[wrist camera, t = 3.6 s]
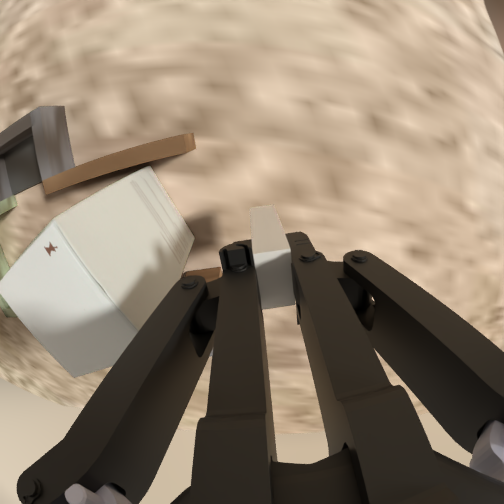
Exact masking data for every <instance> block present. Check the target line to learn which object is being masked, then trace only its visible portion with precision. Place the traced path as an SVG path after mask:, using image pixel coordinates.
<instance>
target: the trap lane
mask: <svg viewBox="0 0 504 504" xmlns="http://www.w3.org/2000/svg"><path fill="white" fill-rule="evenodd" d="M194 149H196V146H195V140H194V135H193V133H190V134H183V135H178V136H174V137H170V138H166V139H162V140H158V141H154V142H150V143H147V144H143V145H140V146H136V147H133V148H129V149H126V150H123V151H120V152H116V153H113V154H110V155H107V156H104V157H101V158H98V159H96V160H93V161H90V162H87V163H84V164H82V165H79V166H76V167H75V164H74V160H73V155H72V150H71V145H70V140H69V134H68V129H67V122H66V116H65V108H64V106H40V107H38V108H36V109H35V110H33V111H31V112H30V113H28V114H27V115H25V116H24V117H22V118H21V119H19V120H18V121H16V122H15V123H13V124H12V125H11V126H9V127H8V128H6V129H5V130H4V131H2V132H1V133H0V215H1V214H3V213H5V212H6V211H8V210H10V209H12V208H14V207H15V206H17V202H16V199H15V194H17V193H19V192H21V191H23V190H25V189H27V188H29V187H31V186H33V185H35V184H38V183H40V182H43V186H44V190H45V194H46V195H47V194H50V193H52V192H55V191H58V190H60V189H63V188H66V187H68V186H71V185H74V184H77V183H80V182H82V181H85V180H88V179H91V178H94V177H97V176H101V175H104V174H107V173H110V172H113V171H117V170H120V169H124V168H127V167H131V166H134V165H138V164H142V163H145V162H149V161H153V160H157V159H161V158H165V157H170V156H174V155H178V154H183V153H187V152H189V151H191V150H194ZM9 269H10V268H9V266H8V263H7V261H6V258H5V256H4V253H3V251H2V248H1V245H0V281H1V280H2V278H3V277H4V276H5V274H6V273H7V272H8V270H9ZM190 275H199V276H202V277H204V278H205V280H206V283H207V282H210V281H213V280H216V279H218V278H220V277H221V276H222V271H221V267H217V268H210V269H202V270H195V271H188V272H187V273H186V276H190ZM186 276H185V277H186ZM0 307H1V309H2V311H3V312H4V314H5V316H6V317H18V316H17V315H16V314H15V313H14V311H13V310H12V309H11V307H10V306H9V305H8V303H7V302H6V301H5V299H4V298H3V297H2V295H1V294H0ZM212 355H213V349H212V351H211V353H210V356H212Z"/></svg>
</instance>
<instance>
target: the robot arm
mask: <svg viewBox="0 0 504 504" xmlns="http://www.w3.org/2000/svg"><path fill="white" fill-rule="evenodd" d="M250 223H251V238H252V239H251V240H244V241H238V242H233V243H232V244H229V245H227V246H225V247H223V248H222V249H220V251H219V255H220V260H221V264H222V269H223V272H222V276H221V277H220V278H218V279H216V280H213V281H210V282H207V283H206V280H205V278H204V277H202V276H199V275H190V276H186V277H183V278H182V279H180V280H178V281H177V282H176V283H175V284H174V286H173V287H172V288H171V289H170V291H169V292H168V293H167V295H166V296H165V297H164V298H163V300H162V301H161V302H160V304H159V305H158V306H157V307H156V309H155V310H154V311H153V313H152V314H151V315H150V317H149V318H148V319H147V321H146V322H145V323H144V325H143V326H142V327H141V329H140V330H139V331H138V333H137V334H136V335H135V337H134V338H133V339H132V341H131V342H130V343H129V345H128V346H127V347H126V349H125V350H124V352H123V353H122V354H121V356H120V357H119V358H118V360H117V361H116V363H115V364H114V365H113V367H112V368H111V370H110V371H109V372H108V374H107V375H106V377H105V378H104V379H103V381H102V382H101V384H100V385H99V387H98V388H97V389H96V391H95V392H94V394H93V395H92V397H91V398H90V400H89V401H88V403H87V404H86V405H85V407H84V408H83V410H82V411H81V413H80V414H79V416H78V417H77V419H76V420H75V422H74V424H73V425H72V426H71V428H70V430H69V431H68V433H67V434H66V436H65V437H64V439H63V440H61V441H60V442H59V443H58V444H57V445H56V446H54V447H53V448H52V449H51V450H49V451H48V452H47V453H46V454H45V455H43V456H42V457H41V458H40V459H39V460H37V461H36V462H35V463H34V464H32V465H31V466H30V467H29V468H28V469H26V470H25V471H24V472H23V473H22V474H21V475H20V477H19V479H18V482H17V494H18V497H19V500H20V501H21V503H22V504H139V503H140V501H141V500H142V498H143V497H144V496H145V494H146V493H147V491H148V489H149V487H150V486H151V484H152V482H153V480H154V478H155V476H156V474H157V471H158V469H159V467H160V465H161V462H162V460H163V458H164V456H165V454H166V451H167V449H168V447H169V445H170V443H171V440H172V438H173V436H174V434H175V432H176V429H177V427H178V425H179V423H180V420H181V418H182V416H183V414H184V411H185V409H186V407H187V405H188V403H189V400H190V398H191V396H192V394H193V391H194V389H195V387H196V385H197V382H198V380H199V378H200V376H201V374H202V371H203V369H204V367H205V365H206V362H207V360H208V358H209V356H210V353H211V351H212V349H213V355H212V365H211V374H210V384H209V394H208V404H207V413H206V416H205V417H204V418H200V420H199V421H198V424H197V429H196V437H195V447H194V457H193V467H192V479H191V486H190V487H188V488H187V489H186V490H184V491H183V492H182V493H181V494H180V495H179V496H178V497H177V498H176V499H175V500H174V501H173V502H171V503H170V504H504V352H503V351H502V350H501V349H499V348H498V347H497V346H496V345H495V344H493V343H492V342H491V341H490V340H489V339H487V338H486V337H485V336H484V335H483V334H481V333H480V332H479V331H478V330H476V329H475V328H474V327H473V326H471V325H470V324H469V323H468V322H466V321H465V320H464V319H463V318H461V317H460V316H459V315H457V314H456V313H455V312H454V311H452V310H451V309H450V308H448V307H447V306H446V305H444V304H443V303H442V302H440V301H439V300H438V299H436V298H435V297H434V296H432V295H431V294H429V293H428V292H427V291H425V290H424V289H423V288H421V287H420V286H418V285H417V284H416V283H414V282H413V281H411V280H410V279H408V278H407V277H406V276H404V275H403V274H401V273H400V272H398V271H397V270H395V269H394V268H392V267H391V266H390V265H388V264H387V263H385V262H384V261H382V260H381V259H379V258H378V257H376V256H375V255H373V254H371V253H369V252H366V251H363V250H359V251H358V250H355V251H351V252H348V253H346V254H345V255H344V257H343V262H332V261H327V260H326V258H325V256H324V255H323V254H322V253H320V252H318V251H315V249H314V247H313V245H312V243H311V242H310V240H309V238H308V236H307V235H306V234H304V233H302V232H295V233H288V234H285V233H284V230H283V227H282V225H281V222H280V219H279V217H278V214H277V211H276V209H275V206H274V204H273V205H266V206H259V207H253V208H250ZM372 297H373V299H374V301H375V302H374V301H373V300H372ZM295 300H296V310H297V325H299V324H300V327H301V331H302V334H303V338H304V343H305V347H306V351H307V355H308V359H309V363H310V367H311V371H312V375H313V380H314V384H315V388H316V392H317V397H318V401H319V405H320V410H321V414H322V419H323V423H324V428H325V432H326V437H327V441H328V447H329V457H327V458H325V459H322V460H320V461H318V462H316V463H313V464H294V463H282V462H278V461H277V453H276V444H275V433H274V422H273V412H272V401H271V391H270V381H269V371H268V360H267V350H266V340H265V330H264V320H263V313H262V310H263V309H270V308H277V307H283V306H290V305H295ZM374 349H375V350H376V351H377V352H378V353H379V354H380V356H381V357H382V358H383V359H384V360H385V361H386V362H387V364H388V365H389V366H390V367H391V368H392V369H393V370H394V371H395V373H396V374H397V375H398V376H399V377H400V378H401V379H402V381H403V382H404V383H405V384H406V385H407V386H408V387H409V389H410V390H411V391H412V392H413V393H414V394H415V396H416V397H417V398H418V399H419V400H420V401H421V403H422V404H423V405H424V406H425V407H426V408H427V410H428V411H429V412H430V413H431V414H432V415H433V417H434V418H435V419H436V420H437V421H438V423H439V424H440V425H441V426H442V427H443V429H444V430H445V431H446V432H447V433H448V434H449V435H450V436H451V437H452V439H453V440H454V441H455V442H457V443H458V444H459V445H460V446H461V447H462V448H464V449H465V450H466V451H468V452H470V453H471V454H473V455H472V459H471V461H470V468H469V467H467V466H465V465H463V464H461V463H459V462H456V461H454V460H452V459H450V458H448V457H446V456H444V455H442V454H440V453H438V452H436V451H434V450H432V448H431V445H430V443H429V440H428V438H427V435H426V433H425V431H424V428H423V426H422V424H421V422H420V419H419V417H418V415H417V413H416V410H415V408H414V406H413V404H412V402H411V400H410V398H409V395H408V394H407V392H406V390H405V389H404V388H403V387H402V386H400V385H396V386H393V385H391V383H390V382H389V380H388V378H387V375H386V373H385V371H384V369H383V367H382V365H381V363H380V361H379V359H378V356H377V354H376V352H375V350H374Z"/></svg>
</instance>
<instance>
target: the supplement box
mask: <svg viewBox="0 0 504 504" xmlns="http://www.w3.org/2000/svg"><path fill="white" fill-rule="evenodd" d="M194 239H195V237H194V236H193V234H192V232H191V231H190V229H189V228H188V226H187V224H186V223H185V221H184V220H183V218H182V216H181V215H180V213H179V212H178V210H177V209H176V207H175V205H174V204H173V202H172V201H171V199H170V197H169V196H168V194H167V193H166V191H165V189H164V188H163V186H162V185H161V183H160V181H159V180H158V178H157V176H156V175H155V173H154V172H153V170H152V168H151V166H146V167H144V168H142V169H140V170H138V171H136V172H134V173H132V174H130V175H128V176H126V177H124V178H122V179H120V180H118V181H117V182H115V183H113V184H111V185H109V186H107V187H105V188H104V189H102V190H100V191H98V192H96V193H95V194H93V195H91V196H89V197H88V198H86V199H84V200H82V201H81V202H79V203H77V204H76V205H74V206H72V207H71V208H69V209H68V210H66V211H64V212H63V213H61V214H59V215H58V216H56V217H55V218H54V219H52V220H51V221H50V223H49V224H48V225H47V226H46V227H45V228H44V229H43V230H42V231H41V232H40V233H39V234H38V236H37V237H36V238H35V239H34V240H33V241H32V242H31V243H30V245H29V246H28V247H27V248H26V249H25V250H24V252H23V253H22V254H21V255H20V256H19V258H18V259H17V260H16V261H15V263H14V264H13V265H12V266H11V268H10V269H9V270H8V272H7V273H6V274H5V276H4V277H3V278H2V280H1V281H0V294H1V295H2V297H3V298H4V299H5V301H6V302H7V303H8V305H9V306H10V307H11V309H12V310H13V311H14V313H15V314H16V315H17V316H18V318H19V319H20V320H21V321H22V323H23V324H24V325H25V326H26V327H27V329H28V330H29V331H30V332H31V333H32V335H33V336H34V337H35V338H36V339H37V340H38V341H39V342H40V344H41V345H42V346H43V347H44V348H45V349H46V350H47V351H48V352H49V353H50V354H51V355H52V356H53V357H54V358H55V359H56V360H57V361H58V362H59V364H60V365H61V366H62V367H63V368H64V369H65V370H67V371H68V372H69V373H70V374H71V375H72V376H73V377H74V378H75V377H78V376H82V375H85V374H89V373H92V372H95V371H99V370H102V369H105V368H108V367H111V366H113V365H114V364H115V363H116V361H117V360H118V358H119V357H120V356H121V354H122V353H123V352H124V350H125V349H126V347H127V346H128V345H129V343H130V342H131V341H132V339H133V338H134V337H135V335H136V334H137V333H138V331H139V330H140V329H141V327H142V326H143V325H144V323H145V322H146V321H147V319H148V318H149V317H150V315H151V314H152V313H153V311H154V310H155V309H156V307H157V306H158V305H159V304H160V302H161V301H162V300H163V298H164V297H165V296H166V295H167V293H168V292H169V291H170V289H171V288H172V287H173V286H174V284H175V283H176V282H177V281H178V280H180V278H181V276H182V273H183V270H184V267H185V264H186V261H187V259H188V256H189V253H190V250H191V247H192V245H193V242H194Z"/></svg>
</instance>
